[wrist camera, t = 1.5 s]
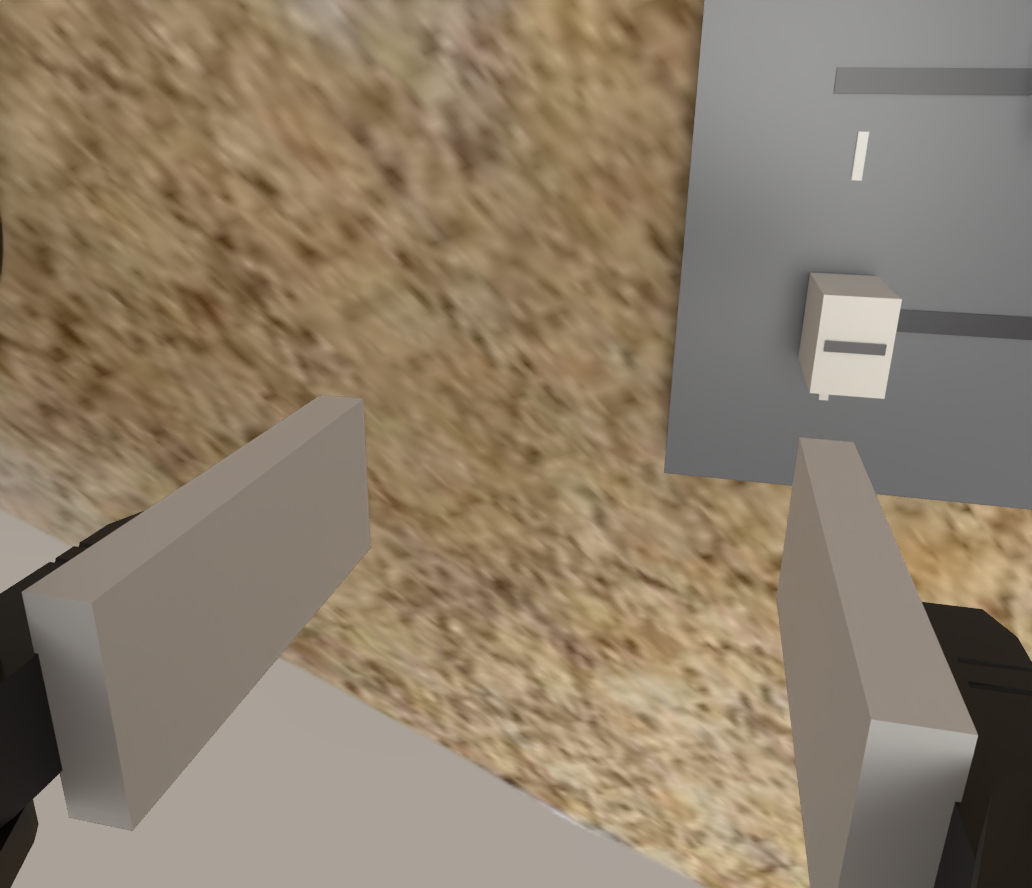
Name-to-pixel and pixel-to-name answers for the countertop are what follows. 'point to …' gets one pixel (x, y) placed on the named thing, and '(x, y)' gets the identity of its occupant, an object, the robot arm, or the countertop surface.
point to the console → (861, 240)
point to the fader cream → (848, 335)
